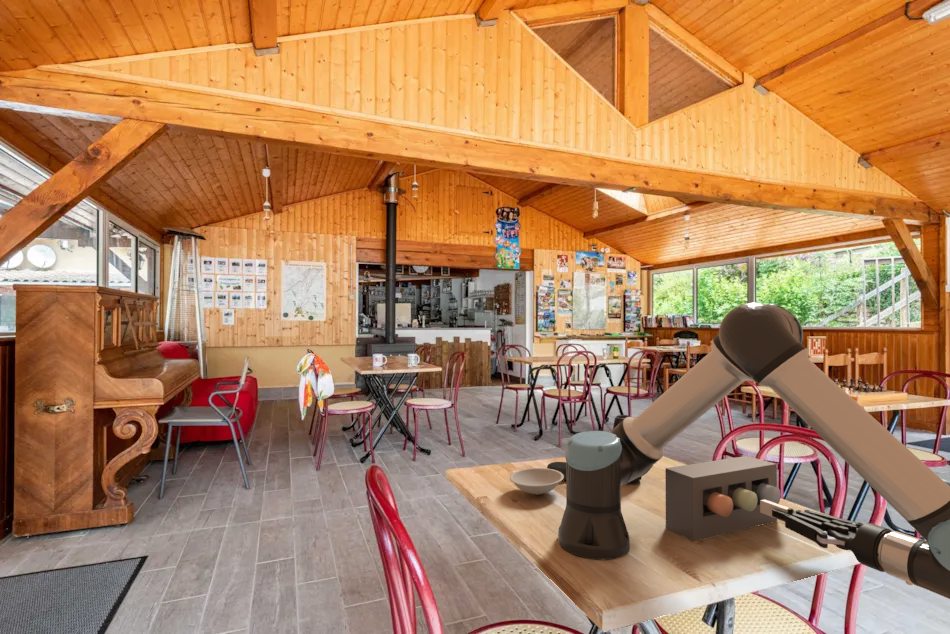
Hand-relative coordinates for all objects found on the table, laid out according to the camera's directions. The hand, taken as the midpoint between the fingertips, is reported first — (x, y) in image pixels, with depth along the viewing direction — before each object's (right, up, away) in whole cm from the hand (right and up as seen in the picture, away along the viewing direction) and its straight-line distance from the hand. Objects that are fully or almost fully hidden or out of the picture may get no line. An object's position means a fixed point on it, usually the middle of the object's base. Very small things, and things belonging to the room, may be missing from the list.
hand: (762, 505), depth 107 cm
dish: (-46, -9, +30) cm, 56 cm away
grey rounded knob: (+5, -2, +8) cm, 10 cm away
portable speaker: (-17, -9, +42) cm, 46 cm away
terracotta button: (-10, -2, +2) cm, 10 cm away
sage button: (-2, -2, +5) cm, 6 cm away
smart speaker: (-37, -9, +45) cm, 59 cm away
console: (-4, -8, +9) cm, 13 cm away
